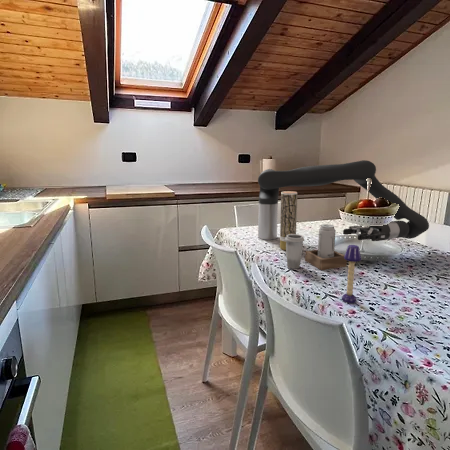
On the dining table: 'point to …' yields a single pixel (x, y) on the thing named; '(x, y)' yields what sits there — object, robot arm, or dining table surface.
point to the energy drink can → (326, 241)
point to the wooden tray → (325, 260)
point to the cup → (294, 250)
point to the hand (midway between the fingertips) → (350, 234)
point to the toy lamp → (351, 271)
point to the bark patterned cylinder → (288, 216)
